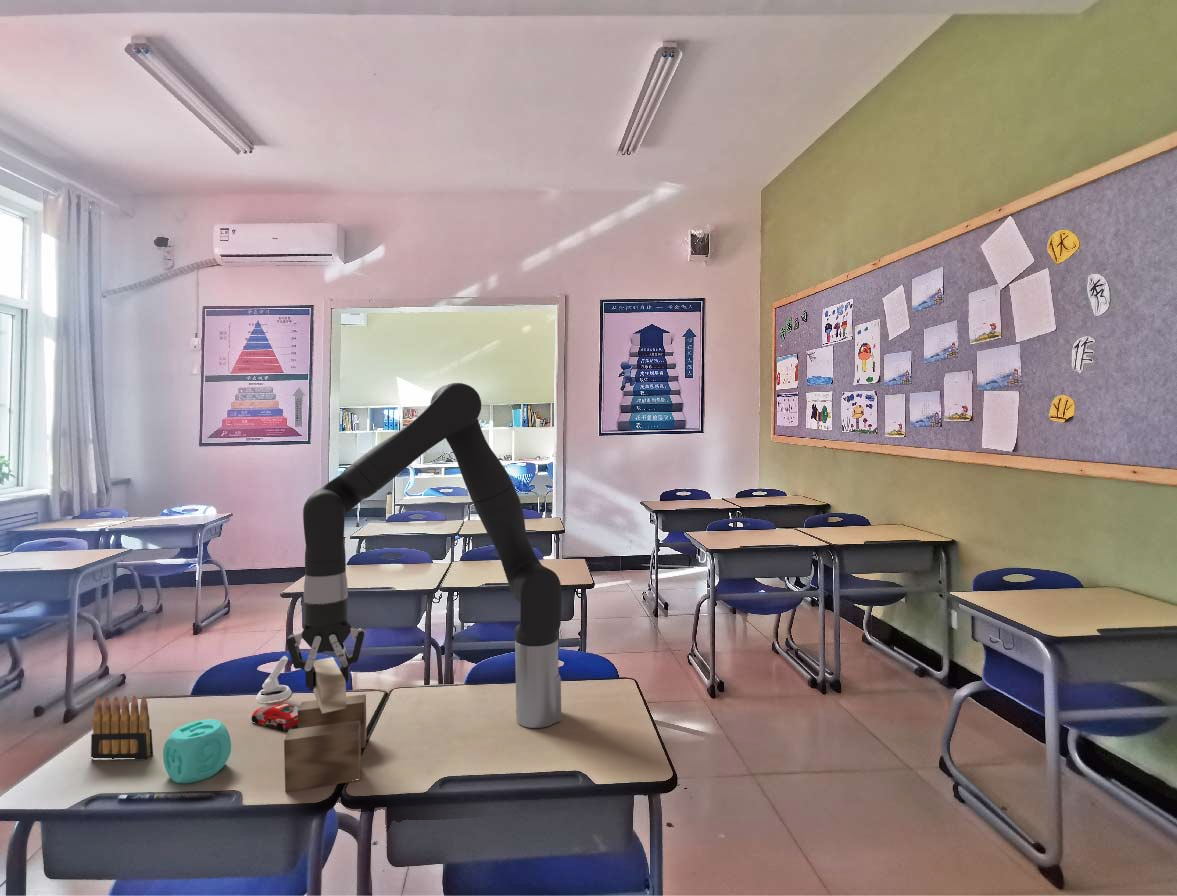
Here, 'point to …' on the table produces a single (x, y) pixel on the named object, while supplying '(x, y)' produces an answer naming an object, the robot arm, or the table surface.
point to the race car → (277, 716)
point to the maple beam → (329, 685)
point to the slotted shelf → (325, 745)
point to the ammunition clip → (121, 730)
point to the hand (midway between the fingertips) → (327, 686)
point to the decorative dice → (196, 751)
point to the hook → (274, 684)
